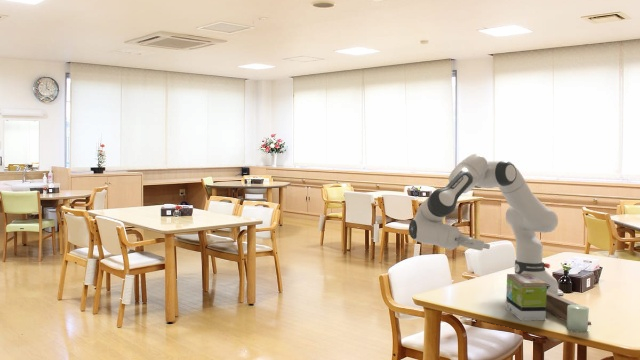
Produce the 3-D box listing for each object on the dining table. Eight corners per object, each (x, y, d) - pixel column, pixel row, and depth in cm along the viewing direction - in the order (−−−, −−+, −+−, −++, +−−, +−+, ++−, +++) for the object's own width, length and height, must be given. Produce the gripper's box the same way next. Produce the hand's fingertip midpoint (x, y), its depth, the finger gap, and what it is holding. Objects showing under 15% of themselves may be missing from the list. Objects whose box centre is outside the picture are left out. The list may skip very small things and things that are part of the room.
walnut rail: (551, 306, 240) (552, 289, 240) (591, 324, 217) (592, 305, 216) (536, 306, 239) (537, 290, 238) (574, 325, 215) (575, 306, 215)
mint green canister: (579, 325, 215) (580, 304, 215) (591, 331, 208) (593, 309, 208) (562, 326, 214) (563, 305, 213) (574, 332, 207) (575, 310, 206)
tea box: (504, 309, 234) (506, 273, 233) (528, 309, 235) (530, 273, 234) (520, 320, 219) (522, 282, 219) (546, 320, 220) (548, 282, 219)
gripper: (464, 233, 211) (498, 240, 214) (441, 226, 231) (473, 233, 234) (460, 250, 211) (494, 257, 214) (438, 241, 231) (469, 248, 234)
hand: (483, 244), depth 224 cm, fingers open, 8 cm apart
